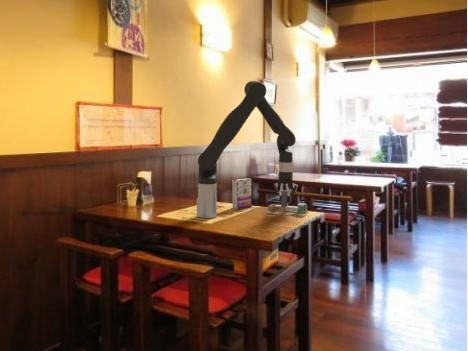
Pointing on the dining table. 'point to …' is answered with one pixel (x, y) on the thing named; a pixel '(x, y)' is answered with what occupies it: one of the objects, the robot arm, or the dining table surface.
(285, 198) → the gray t-shaped block
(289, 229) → the dining table surface
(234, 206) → the candy bar box
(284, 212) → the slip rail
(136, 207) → the dining table surface
